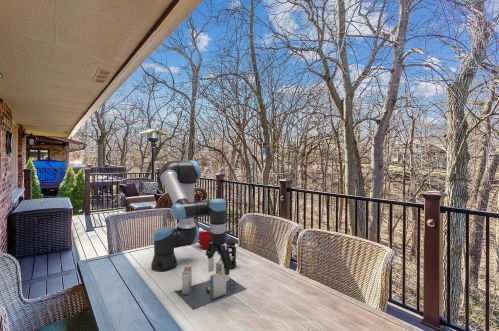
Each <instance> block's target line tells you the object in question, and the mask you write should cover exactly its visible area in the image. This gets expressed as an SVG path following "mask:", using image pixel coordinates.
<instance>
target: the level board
mask: <svg viewBox="0 0 499 331" xmlns="http://www.w3.org/2000/svg"><path fill="white" fill-rule="evenodd" d="M246 290H248V288H246V287H245V286H243V285H242V284H241V283H239V282H237V281H236V280H234V279H233V278H231V277H230V276H229V281H226V294H225V295H223V296H220V297H217V298H215V299H213V298H212V297H211V296H210V279H209V280H206V281H203V282H200V283H196V284H194V285H193V284H192V288H191V290H190V293H189V294H182V289H178V290H174V293H175V294H176V295H177V296H178V297H179V298H180V299H181V300H182V301H184V303H185V304H186V305H187V306H189V307H190V309H191V310H192V311H195V310H197V309H200V308H203V307H205V306H208V305H210V304H212V303H216V302H218V301H221V300H224V299H225V298H228V297H231V296H233V295H236V294H238V293H241V292H244V291H246ZM189 307H188V308H189Z"/></svg>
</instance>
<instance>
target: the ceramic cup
mask: <svg viewBox="0 0 499 331" xmlns="http://www.w3.org/2000/svg"><path fill="white" fill-rule="evenodd" d="M210 233H211V232H210V230H209V231H207V230H206V231H201V232H200V231H199V239H198V241H197V243H198V244H199V245H200V246H201V248H202V249H203V250H207V247H208V243H209V239H210Z"/></svg>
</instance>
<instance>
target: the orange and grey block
mask: <svg viewBox="0 0 499 331" xmlns="http://www.w3.org/2000/svg"><path fill="white" fill-rule="evenodd" d="M192 268H193V267H192V266H185V267H184V269H183V272H182V273H181V286H182V294H189V293H190V290H191V288H192V286H193V284H192V283H193V281H192V280H193V279H192V278H193V276H192Z"/></svg>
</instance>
